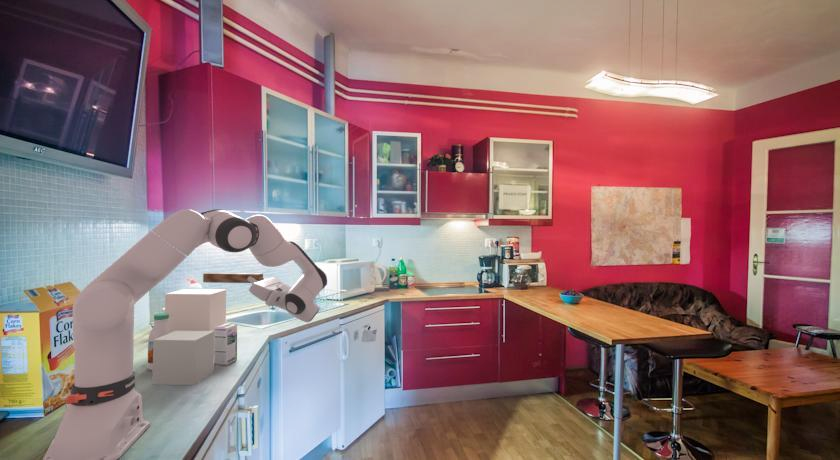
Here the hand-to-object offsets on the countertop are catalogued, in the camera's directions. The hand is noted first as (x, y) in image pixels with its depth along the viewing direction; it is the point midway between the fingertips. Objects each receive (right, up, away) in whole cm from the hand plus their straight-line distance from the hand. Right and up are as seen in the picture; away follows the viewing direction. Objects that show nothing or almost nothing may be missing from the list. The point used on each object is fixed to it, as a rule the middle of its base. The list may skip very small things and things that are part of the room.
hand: (251, 277), depth 140 cm
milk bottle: (-30, -33, -8) cm, 46 cm away
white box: (-27, -33, +7) cm, 43 cm away
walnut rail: (-7, -2, 0) cm, 8 cm away
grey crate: (-15, -33, -18) cm, 40 cm away
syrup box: (-9, -33, -2) cm, 35 cm away
